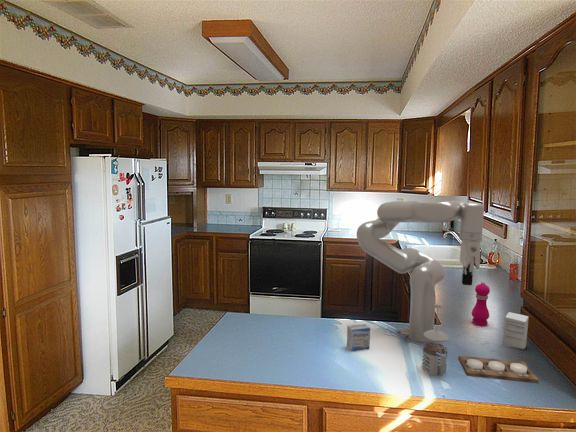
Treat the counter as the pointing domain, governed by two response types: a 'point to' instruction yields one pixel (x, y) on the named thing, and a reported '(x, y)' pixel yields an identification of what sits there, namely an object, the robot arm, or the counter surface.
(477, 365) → the three-pip button
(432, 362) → the french press
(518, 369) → the button
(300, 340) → the counter surface
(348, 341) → the medicine box
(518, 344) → the supplement box
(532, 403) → the counter surface
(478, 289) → the pepper mill
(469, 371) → the button panel
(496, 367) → the button
